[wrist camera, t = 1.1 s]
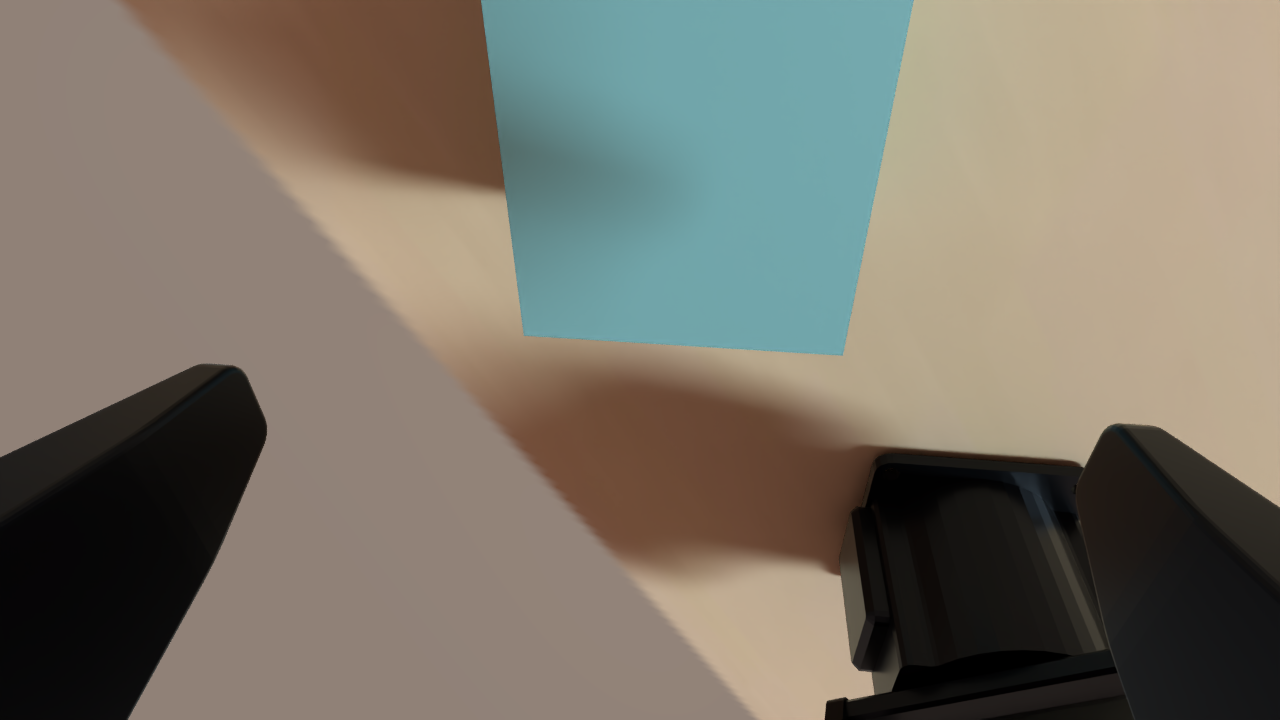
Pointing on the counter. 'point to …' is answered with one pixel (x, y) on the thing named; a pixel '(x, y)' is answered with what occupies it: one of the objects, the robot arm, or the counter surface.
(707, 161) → the teal block
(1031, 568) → the robot arm
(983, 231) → the counter surface
